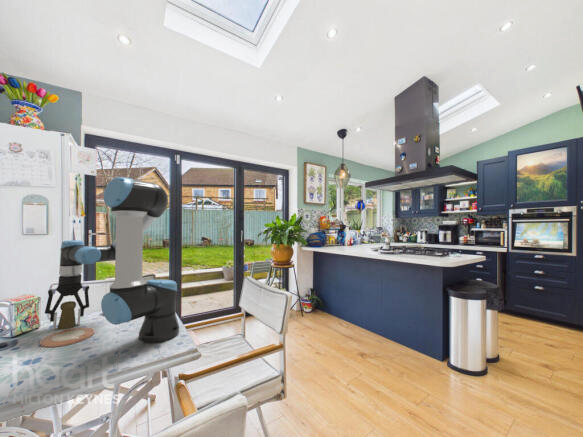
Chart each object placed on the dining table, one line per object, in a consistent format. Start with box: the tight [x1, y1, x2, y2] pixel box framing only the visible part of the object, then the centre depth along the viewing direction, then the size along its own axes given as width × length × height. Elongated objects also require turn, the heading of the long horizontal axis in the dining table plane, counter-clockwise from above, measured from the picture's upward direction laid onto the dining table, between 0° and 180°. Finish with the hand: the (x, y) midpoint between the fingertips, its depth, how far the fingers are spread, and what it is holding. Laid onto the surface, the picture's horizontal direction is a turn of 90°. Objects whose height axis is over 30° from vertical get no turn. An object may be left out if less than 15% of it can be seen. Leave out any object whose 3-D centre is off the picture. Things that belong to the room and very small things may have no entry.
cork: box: [57, 300, 77, 331], centre depth 107 cm, size 6×6×11 cm
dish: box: [39, 326, 95, 348], centre depth 97 cm, size 16×16×1 cm
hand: (66, 326), depth 107 cm, fingers open, 7 cm apart
